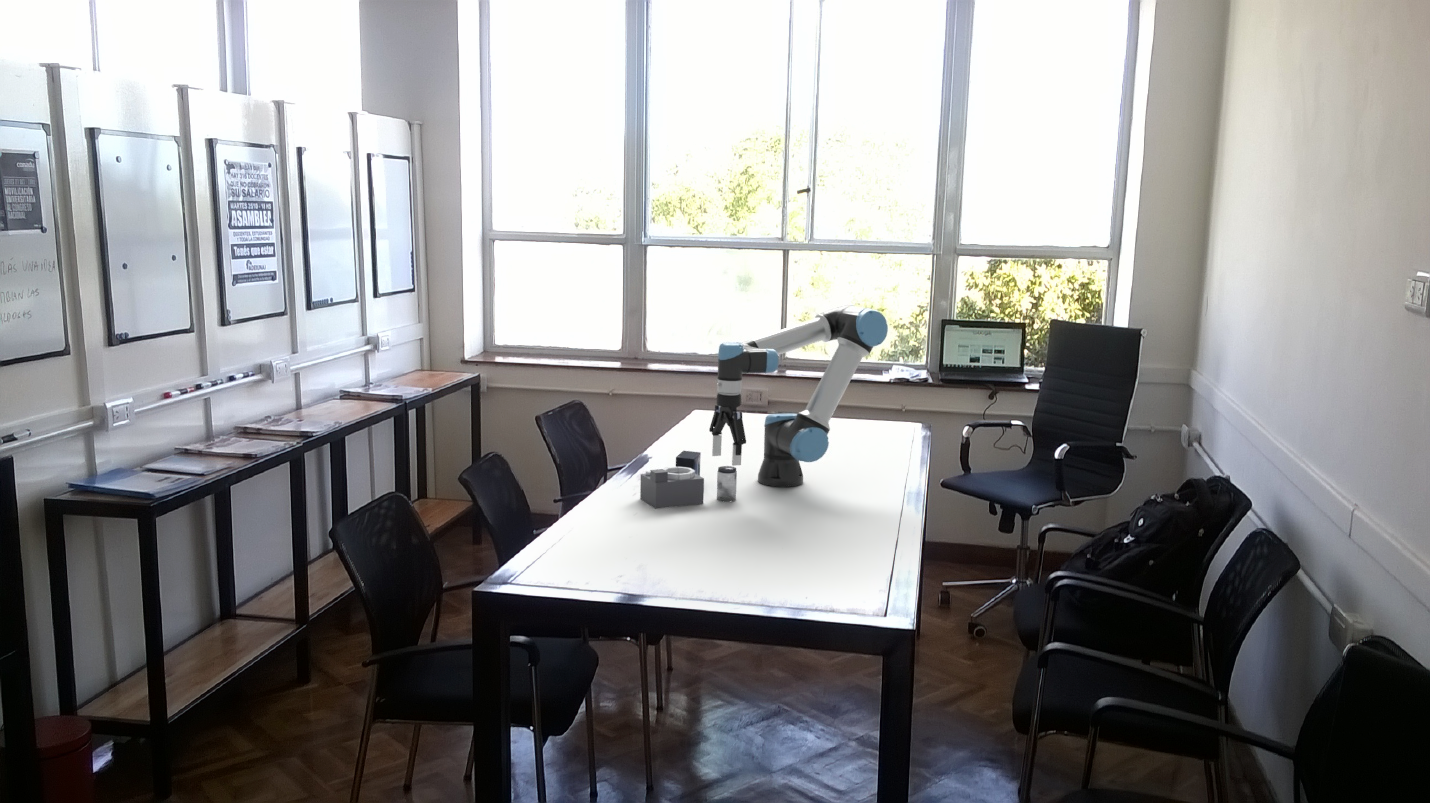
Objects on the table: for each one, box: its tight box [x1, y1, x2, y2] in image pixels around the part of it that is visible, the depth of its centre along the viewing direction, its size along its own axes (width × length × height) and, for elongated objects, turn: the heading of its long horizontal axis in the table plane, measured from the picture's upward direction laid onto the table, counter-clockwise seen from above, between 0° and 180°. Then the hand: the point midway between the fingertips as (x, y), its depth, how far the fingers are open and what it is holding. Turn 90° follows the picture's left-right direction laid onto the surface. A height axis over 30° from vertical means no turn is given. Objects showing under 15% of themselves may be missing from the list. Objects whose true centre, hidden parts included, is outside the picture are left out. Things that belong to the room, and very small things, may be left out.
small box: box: [675, 450, 702, 477], centre depth 359 cm, size 11×6×10 cm, turn 168°
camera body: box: [639, 466, 705, 510], centre depth 339 cm, size 16×12×11 cm
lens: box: [716, 465, 738, 503], centre depth 343 cm, size 6×6×10 cm
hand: (726, 460), depth 342 cm, fingers open, 13 cm apart
